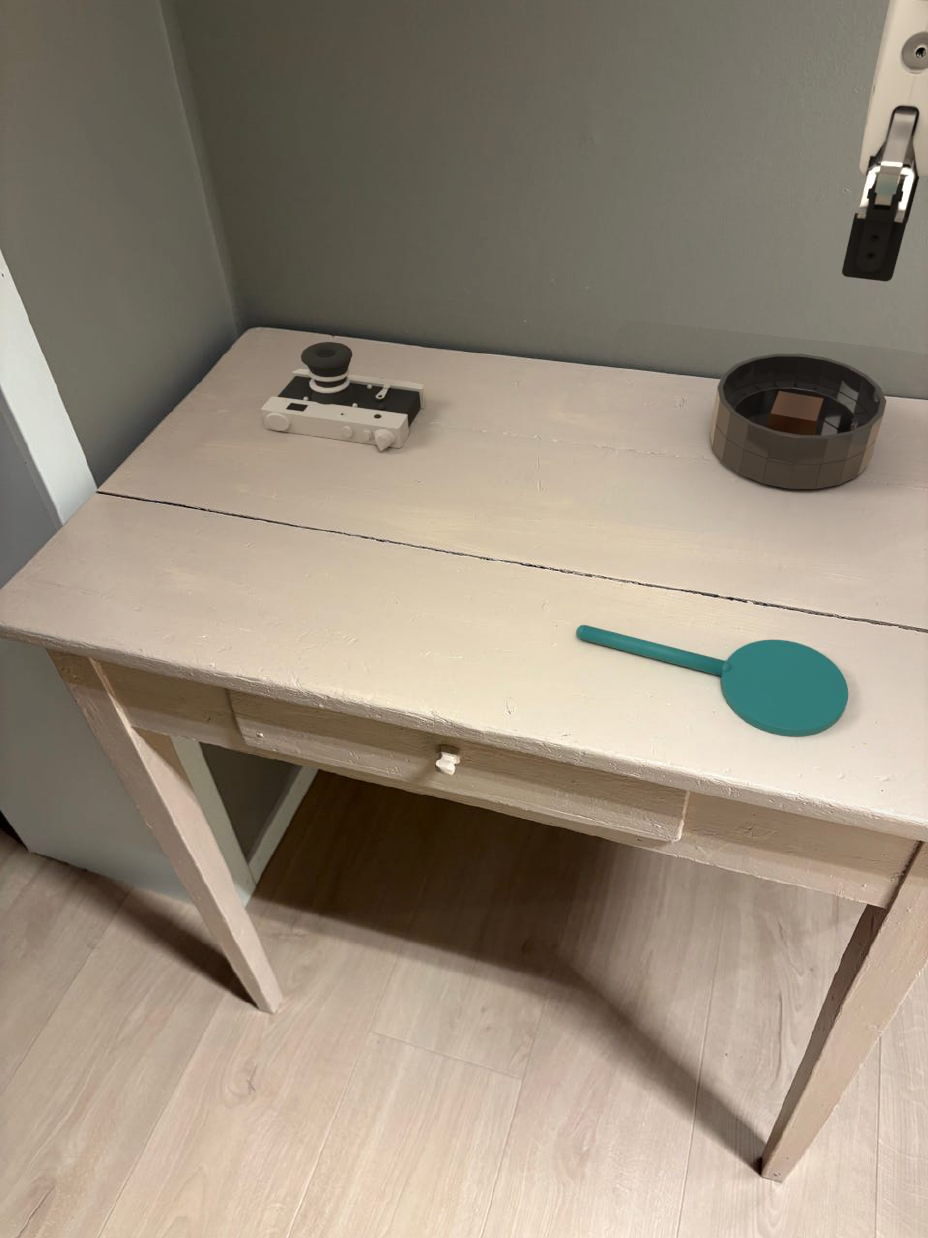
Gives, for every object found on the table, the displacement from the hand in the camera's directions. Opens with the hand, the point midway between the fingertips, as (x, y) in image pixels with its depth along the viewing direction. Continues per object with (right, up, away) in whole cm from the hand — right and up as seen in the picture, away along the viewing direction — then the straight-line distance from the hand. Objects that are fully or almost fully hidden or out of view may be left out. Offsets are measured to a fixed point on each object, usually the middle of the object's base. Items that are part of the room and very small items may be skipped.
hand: (875, 248), depth 67 cm
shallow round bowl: (+3, -9, +26) cm, 28 cm away
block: (+3, -9, +26) cm, 28 cm away
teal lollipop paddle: (-10, -30, +6) cm, 32 cm away
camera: (-41, -5, +34) cm, 54 cm away
